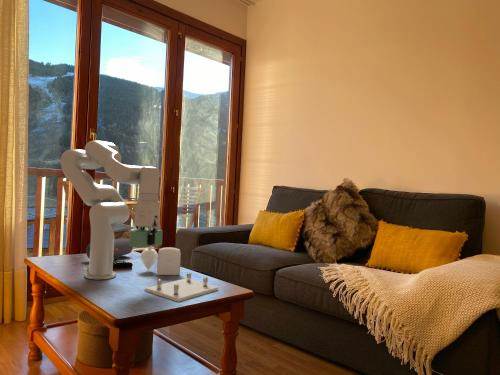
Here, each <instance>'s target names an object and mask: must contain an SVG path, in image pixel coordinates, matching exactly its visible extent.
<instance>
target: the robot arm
mask: <svg viewBox="0 0 500 375" xmlns="http://www.w3.org/2000/svg"><path fill="white" fill-rule="evenodd" d="M121 162H122V155H121V154H120V152H119V148H118V146H117V145H116V144H114V142H109V141H104V140H96V139H95V140H91V141H88V142H87V143H86V144H85V146H84V149H78V148H77V149H76V148H74V149H68V150H65V151H64V152H63V153H62V155H61V157H60V167H61V171H62V172H63V175H64V176H65V178H67V180H68V182H70V184H71V185H72V186H73V188H74V189H75V191H76V192H77V194H78V195H79V197H80V199H81V200H82V201H83V203H84V205H87V206H88V207H91V208H90V209H89V215H88V216H89V222H90V243H89V244H90V259H89V260H88V261H89V263H88V264H86V265H85V268H86V269H88V270H87V272H85V273H84V278H85V279H88V280H89V279H90V280H95V281H96V280H97V281H98V280H101V281H102V280H110V279H113V278H116V276H117V272H116V271H113V269H114V267H113V266H114V259H113V254H114V239H115V232H114V229H113V227H112V225H118V224H123V223H125V222H127V221H129V218H130V214H131V211H130V208H129V206H128V204H127V202H126V201H125V200H124V198H123V197H122V196H121V194H120V192H119V191H118V190H117V188H115V187H114V186H113V185H109V184H98V183H97V182H96V181H95V180H94V179H93V177H92V176H91V175H90V174H89V173H88V172H87V171H86V170H97V169H100V168H102V167H103V168H104V172H105V175H107V176H108V177H109V178H111V179H112V180H113V181H114V182H117V183H119V184H122V185H138V198H137V199H138V200H137V201H136V205H135V210H134V211H135V212H134V221H133V222H134V223H133V224H134V226H135V227H136V230H146V228H147V229H148V230H149V235H148V242H147V244H148V245H154V244H155V234H156V232H157V231H158V230H161V228H162V227H161V224H160V205H159V187H160V186H159V184H160V169H159V168H158V167H157V166H156V167H154V166H141V165H131V164H123V163H121ZM151 229H153V230H151Z"/></svg>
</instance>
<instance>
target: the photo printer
mask: <svg viewBox="0 0 500 375" xmlns="http://www.w3.org/2000/svg"><path fill="white" fill-rule="evenodd" d="M157 254H158V258H157V261H156V262H157V264H156V265H157V266H156V267H157V270H156V275H157V276H180V274H181V255H182V253H181V249H179V248H176V247H171V246H170V247H162V248H159V249H158V252H157Z"/></svg>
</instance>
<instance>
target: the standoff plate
mask: <svg viewBox="0 0 500 375" xmlns="http://www.w3.org/2000/svg"><path fill="white" fill-rule="evenodd" d="M202 278H203V279H202V282H200V281H198V280H197V281H196V280H193V279H192V273H191V272H187V273H186V277H185V278H182V279H178V280H174V281H169V282H164V283H163V279H160V278H158V279H157V281H156V285H152V286H148V287H145V292H148V293H150V294H153V295H157V296H160V297H162V298H166V299H169V300H171V301H174V302H178V303H179V302H183V301H185V300H189V299H193V298H196V297H199V296H203V295H206V294H210V293H213V292H216V290H217V291H218V290H219V287H218V286H215V285H211V284H208V282H209V277H207V276H204V277H202Z"/></svg>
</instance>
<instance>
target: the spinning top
mask: <svg viewBox="0 0 500 375" xmlns="http://www.w3.org/2000/svg"><path fill="white" fill-rule="evenodd" d="M152 247H153V246H150V247H147V248H145V249H143V251H142V252H141V253H140V259H141V261H142V263H143V265H144V267H145V268H146V269H147V272H150V269H151V268H152V267H153V266H154V265H155V263H156V262H157V261H158V252H157V250H156V249H155V248H152Z"/></svg>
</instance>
